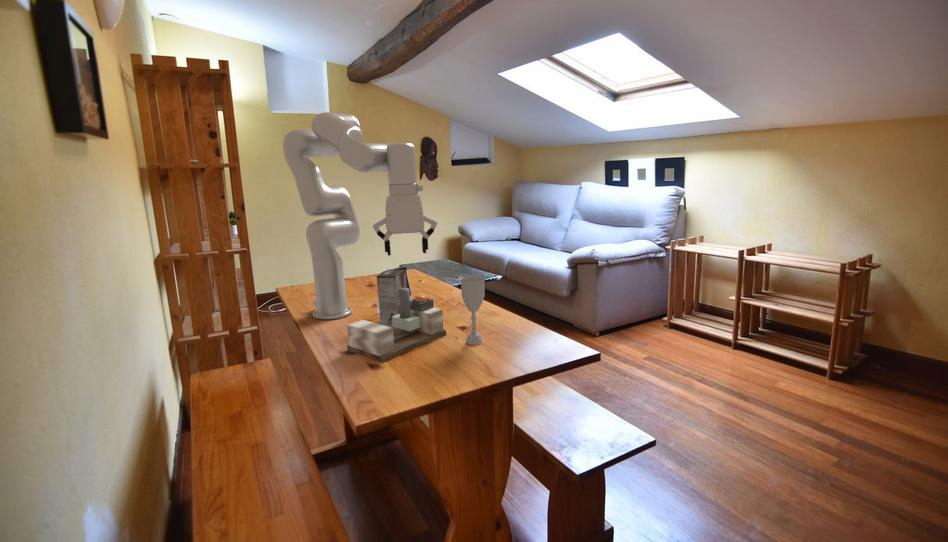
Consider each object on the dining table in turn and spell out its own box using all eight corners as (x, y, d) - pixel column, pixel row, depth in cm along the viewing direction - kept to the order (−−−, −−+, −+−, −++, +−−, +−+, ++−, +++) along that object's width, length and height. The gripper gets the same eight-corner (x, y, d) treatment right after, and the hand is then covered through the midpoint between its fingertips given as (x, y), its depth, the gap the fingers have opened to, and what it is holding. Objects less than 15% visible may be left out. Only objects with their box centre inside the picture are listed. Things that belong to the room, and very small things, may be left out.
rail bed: (347, 350, 131) (344, 315, 129) (411, 326, 149) (410, 294, 147) (382, 362, 122) (379, 324, 120) (446, 335, 141) (444, 301, 138)
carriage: (392, 326, 138) (389, 289, 136) (402, 322, 141) (400, 286, 139) (409, 331, 134) (407, 292, 131) (420, 327, 137) (418, 289, 134)
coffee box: (390, 317, 158) (387, 269, 155) (409, 318, 157) (406, 269, 153) (379, 326, 149) (376, 275, 146) (399, 327, 148) (396, 276, 145)
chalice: (490, 338, 137) (489, 276, 133) (483, 347, 131) (481, 281, 127) (466, 336, 139) (464, 274, 135) (457, 344, 133) (455, 280, 129)
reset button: (413, 304, 141) (412, 296, 140) (421, 301, 143) (420, 294, 143) (421, 305, 139) (420, 298, 138) (428, 303, 141) (428, 295, 141)
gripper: (433, 188, 136) (436, 249, 140) (370, 191, 132) (374, 253, 136) (437, 190, 129) (440, 254, 132) (370, 192, 125) (375, 258, 129)
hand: (406, 253), depth 134 cm, fingers open, 9 cm apart
